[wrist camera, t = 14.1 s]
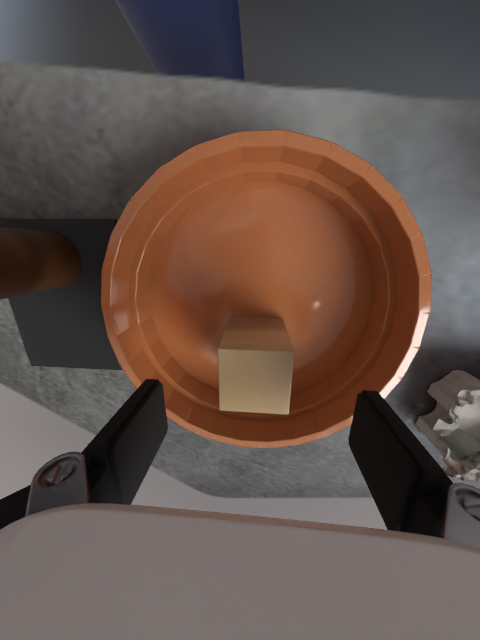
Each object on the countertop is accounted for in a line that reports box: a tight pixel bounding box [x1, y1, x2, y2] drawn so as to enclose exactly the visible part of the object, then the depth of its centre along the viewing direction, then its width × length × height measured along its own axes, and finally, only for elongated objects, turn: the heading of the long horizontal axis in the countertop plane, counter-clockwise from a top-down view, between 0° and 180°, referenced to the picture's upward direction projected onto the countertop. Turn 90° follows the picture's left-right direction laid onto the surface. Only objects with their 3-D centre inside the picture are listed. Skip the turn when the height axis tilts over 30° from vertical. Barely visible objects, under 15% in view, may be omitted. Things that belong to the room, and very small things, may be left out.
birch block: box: [217, 317, 294, 415], centre depth 15 cm, size 4×4×6 cm
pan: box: [101, 130, 432, 448], centre depth 15 cm, size 18×18×4 cm
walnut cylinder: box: [0, 227, 82, 300], centre depth 13 cm, size 4×4×8 cm
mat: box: [0, 219, 123, 370], centre depth 18 cm, size 12×10×1 cm
